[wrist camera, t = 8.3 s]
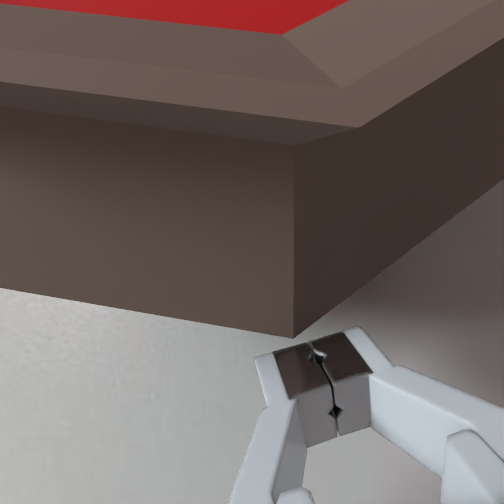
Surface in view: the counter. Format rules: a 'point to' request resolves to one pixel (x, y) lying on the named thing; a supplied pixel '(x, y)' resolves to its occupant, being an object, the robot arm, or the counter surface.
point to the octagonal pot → (238, 148)
